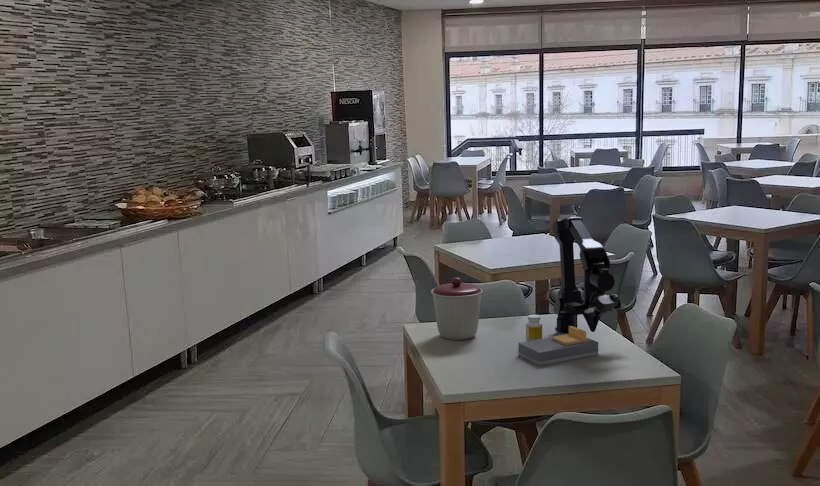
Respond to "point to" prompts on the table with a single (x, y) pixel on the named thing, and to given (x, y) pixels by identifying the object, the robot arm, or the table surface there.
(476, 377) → the table surface
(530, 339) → the supplement bottle
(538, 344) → the socket block
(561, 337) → the shutter
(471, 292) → the canister
